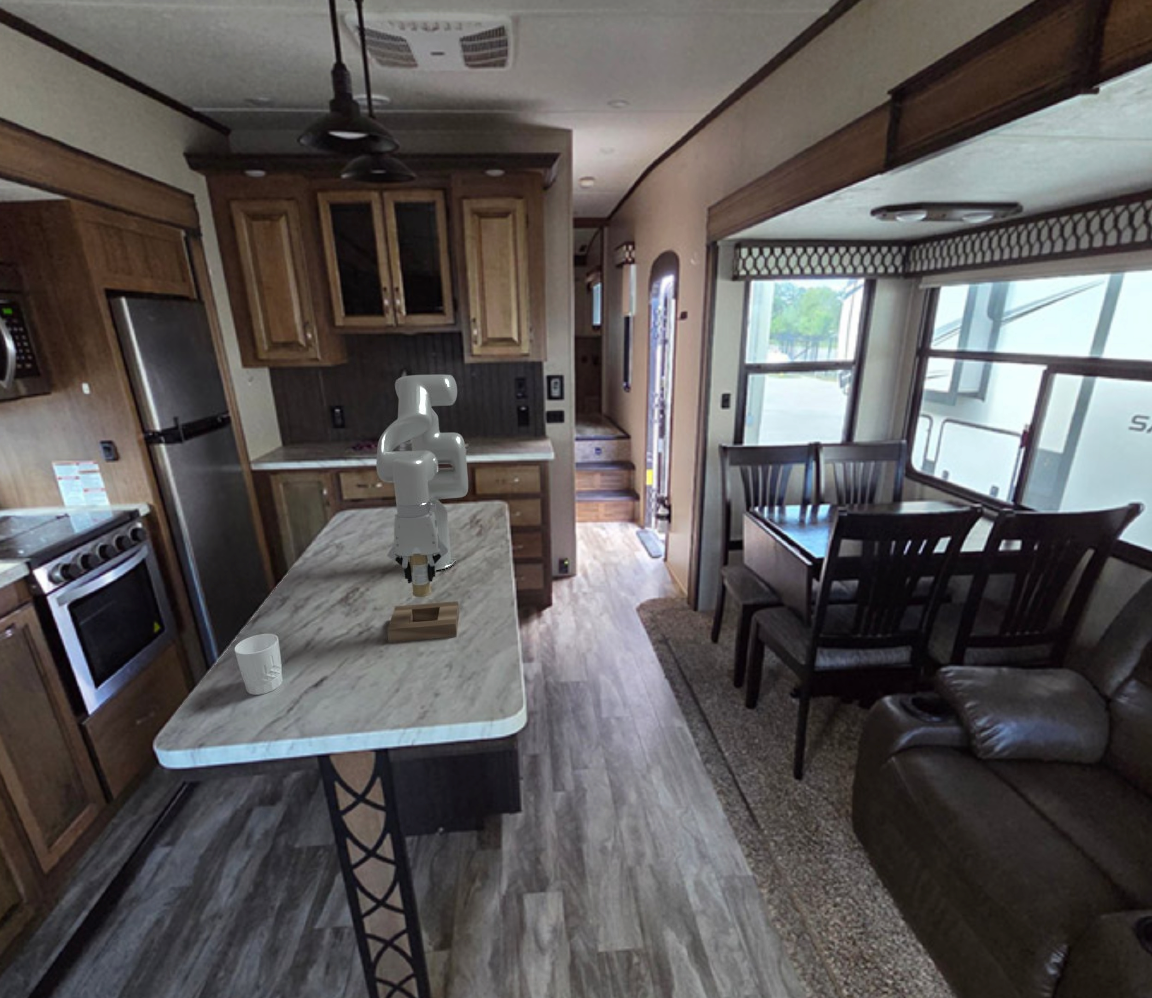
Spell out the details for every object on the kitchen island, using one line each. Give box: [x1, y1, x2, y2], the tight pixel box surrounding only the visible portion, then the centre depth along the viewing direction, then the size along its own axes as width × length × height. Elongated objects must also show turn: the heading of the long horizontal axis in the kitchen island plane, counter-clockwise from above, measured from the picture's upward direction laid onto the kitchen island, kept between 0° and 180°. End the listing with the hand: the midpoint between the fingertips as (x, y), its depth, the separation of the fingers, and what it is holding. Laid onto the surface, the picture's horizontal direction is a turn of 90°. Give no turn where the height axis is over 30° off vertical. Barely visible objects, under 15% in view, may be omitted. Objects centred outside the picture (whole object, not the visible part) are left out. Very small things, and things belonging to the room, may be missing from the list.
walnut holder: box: [386, 600, 460, 643], centre depth 136 cm, size 12×16×4 cm
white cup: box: [233, 633, 284, 696], centre depth 113 cm, size 8×8×10 cm
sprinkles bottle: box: [409, 547, 432, 598], centre depth 132 cm, size 5×5×13 cm
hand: (420, 579), depth 133 cm, fingers closed on sprinkles bottle, 4 cm apart
